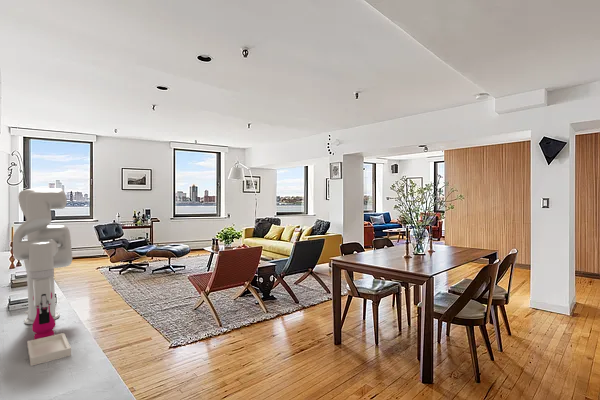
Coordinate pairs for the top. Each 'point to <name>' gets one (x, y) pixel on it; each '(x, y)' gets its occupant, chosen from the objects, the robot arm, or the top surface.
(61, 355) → the tray
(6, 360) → the top surface
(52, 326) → the pepper mill
